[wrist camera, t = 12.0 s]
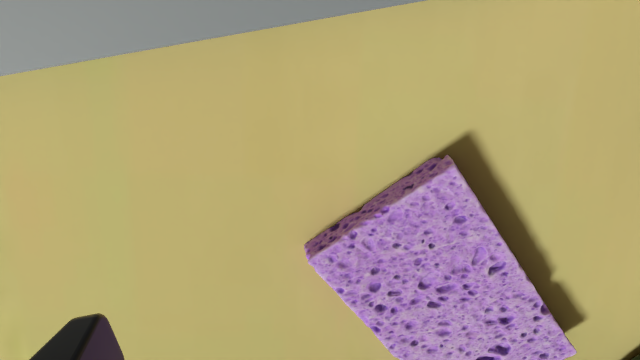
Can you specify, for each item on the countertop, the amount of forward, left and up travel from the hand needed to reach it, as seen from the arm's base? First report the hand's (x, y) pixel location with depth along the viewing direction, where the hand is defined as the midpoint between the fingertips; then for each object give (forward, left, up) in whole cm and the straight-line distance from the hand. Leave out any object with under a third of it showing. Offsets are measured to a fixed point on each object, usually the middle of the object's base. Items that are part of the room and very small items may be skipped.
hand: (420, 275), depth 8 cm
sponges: (-4, +12, -14) cm, 19 cm away
